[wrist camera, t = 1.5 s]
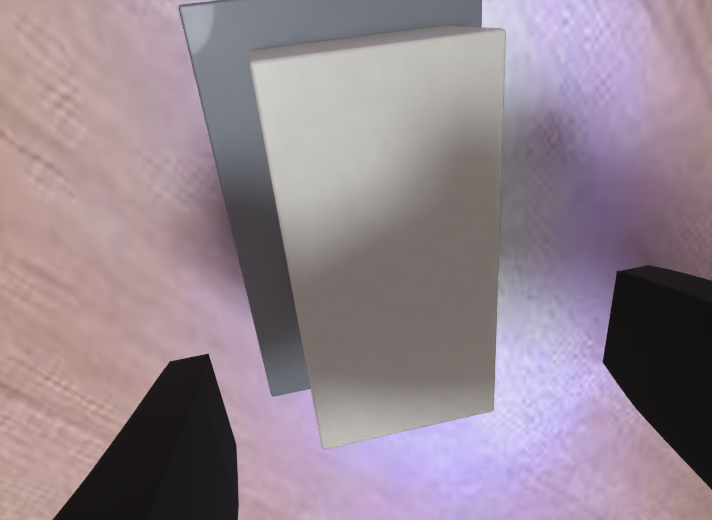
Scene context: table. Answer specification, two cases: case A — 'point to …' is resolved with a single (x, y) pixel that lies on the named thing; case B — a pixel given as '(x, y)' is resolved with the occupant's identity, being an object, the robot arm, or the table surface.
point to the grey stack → (245, 139)
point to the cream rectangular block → (390, 219)
